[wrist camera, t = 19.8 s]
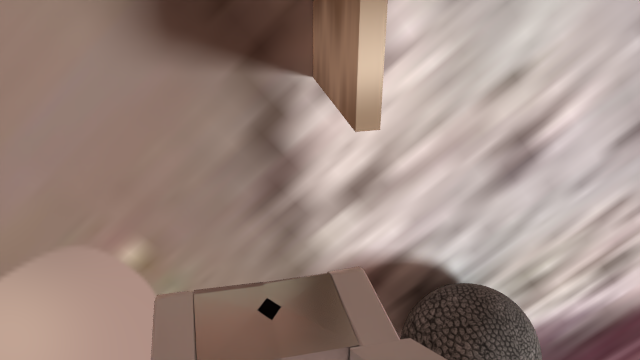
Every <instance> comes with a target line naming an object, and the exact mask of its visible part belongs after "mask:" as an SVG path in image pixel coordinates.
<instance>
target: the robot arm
mask: <svg viewBox="0 0 640 360" xmlns="http://www.w3.org/2000/svg"><path fill="white" fill-rule="evenodd" d="M151 360H447V359H445V358H444V357H442V356H440V355H438V354H437V353H435V352H433V351H432V350H430V349H428V348H426V347H425V346H423V345H421V344H420V343H418V342H416V341H414V340H413V339H411V338H408V339H401V340H400V338H399V336H398V334H397V332H396V330H395V328H394V327H393V325H392V323H391V321H390V319H389V317H388V315H387V313H386V311H385V309H384V307H383V305H382V303H381V302H380V300H379V298H378V296H377V294H376V292H375V290H374V288H373V286H372V284H371V282H370V280H369V278H368V277H367V275H366V273H365V271H364V269H362V268H361V267H354V268H348V269H342V270H336V271H330V272H328V273H324V274H318V275H311V276H304V277H297V278H290V279H283V280H276V281H269V282H258V283H250V284H241V285H233V286H224V287H216V288H207V289H199V290H194V293H193V291H184V292H177V293H169V294H162V295H157V297H156V299H155V301H154V315H153V333H152V350H151Z"/></svg>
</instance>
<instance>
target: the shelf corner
mask: <svg viewBox="0 0 640 360" xmlns="http://www.w3.org/2000/svg"><path fill="white" fill-rule="evenodd" d="M387 3H388V0H313V78H314V79H315V80H316V82H317V83H318V84H319V86H320V87H321V88H322V89H323V91H324V92H325V93H326V95H327V96H328V97H329V98H330V100H331V101H332V102H333V104H334V105H335V106H336V107H337V109H338V110H339V111H340V113H341V114H342V115H343V116H344V118H345V119H346V120H347V122H348V123H349V124H350V125H351V127H352V128H353V129H354V131H355V132H359V131H370V130H380V121H381V104H382V87H383V70H384V53H385V36H386V20H387Z"/></svg>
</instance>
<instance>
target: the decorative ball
mask: <svg viewBox="0 0 640 360" xmlns="http://www.w3.org/2000/svg"><path fill="white" fill-rule="evenodd" d="M408 338H411V339H413V340H414V341H416V342H418V343H420V344H421V345H423V346H425V347H426V348H428V349H430V350H432V351H433V352H435V353H437V354H438V355H440V356H442V357H444V358H445V359H447V360H542V355H541V348H540V343H539V340H538V337H537V334H536V332H535V329H534V327H533V325H532V324H531V322H530V320H529V319H528V317H527V316H526V314H525V313H524V312H523V311H522V309H521V308H520V307H519V306H518V305H517V304H516V303H515V302H513V301H512V300H511V299H510V298H508V297H507V296H505V295H504V294H502V293H500V292H498V291H496V290H494V289H491V288H489V287H486V286H482V285H477V284H469V283H460V284H452V285H447V286H444V287H441V288H439V289H436V290H434V291H433V292H431V293H429V294H428V295H427V296H425V297H424V298H423V299H422V300H421V301H419V302H418V304H417V305H416V306H415V307H414V308H413V310H412V311H411V313H410V314H409V316H408V318H407V320H406V322H405V325H404V327H403V331H402V335H401V339H408Z"/></svg>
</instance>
